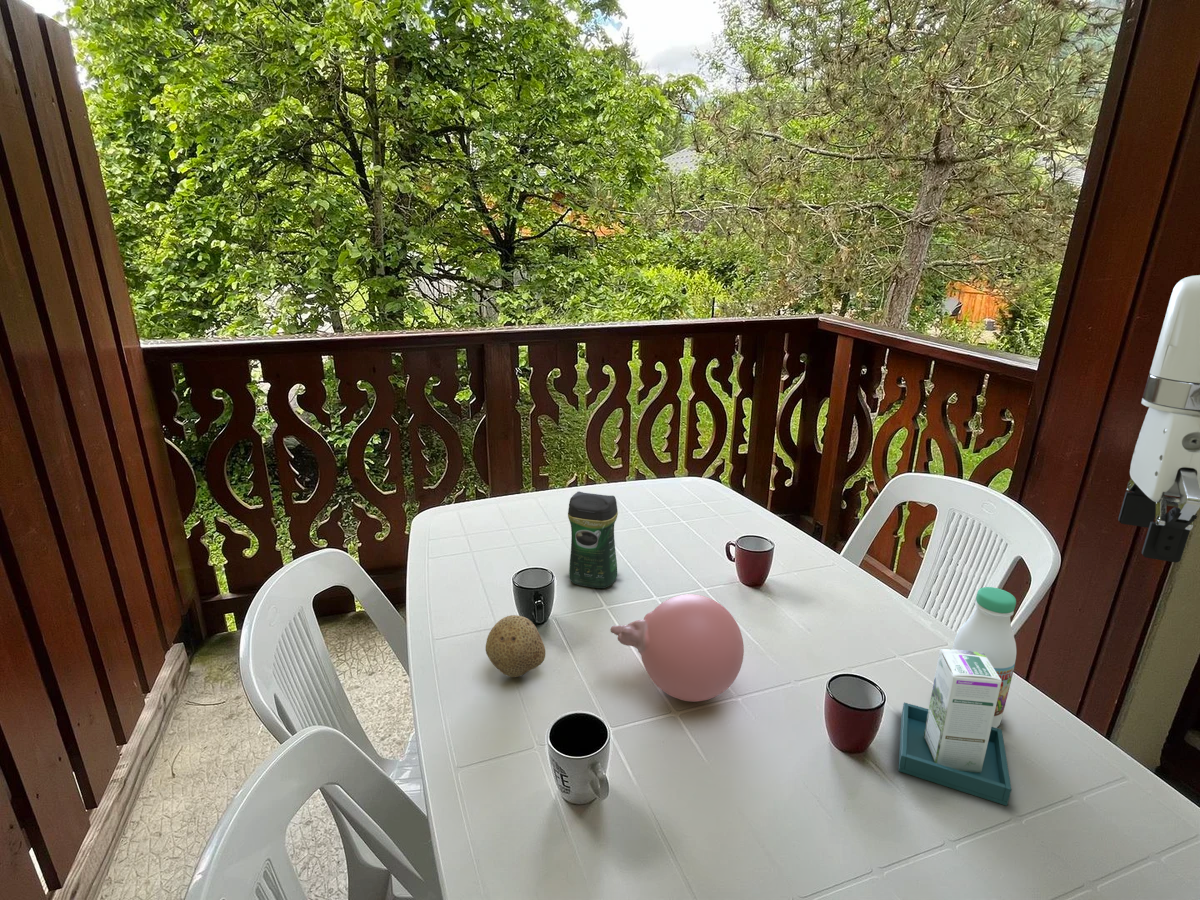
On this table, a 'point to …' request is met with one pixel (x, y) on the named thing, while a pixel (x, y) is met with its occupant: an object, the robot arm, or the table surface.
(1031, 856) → the table surface
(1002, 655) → the milk bottle
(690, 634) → the balloon
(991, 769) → the tray
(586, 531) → the coffee jar
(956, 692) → the syrup box
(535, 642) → the natural sponge
